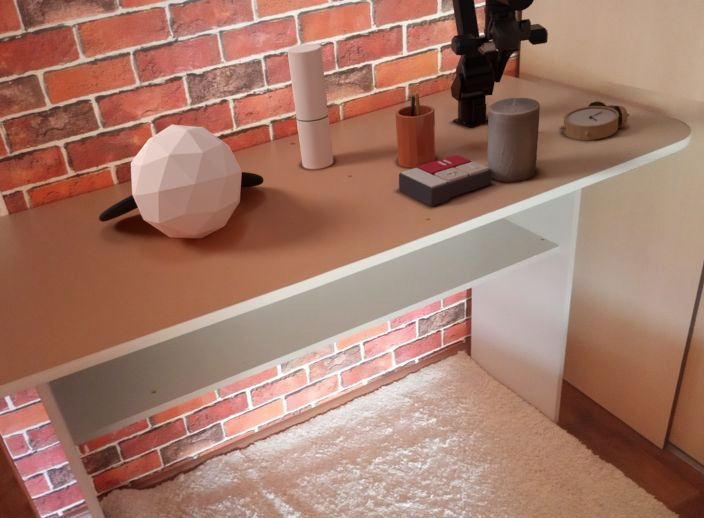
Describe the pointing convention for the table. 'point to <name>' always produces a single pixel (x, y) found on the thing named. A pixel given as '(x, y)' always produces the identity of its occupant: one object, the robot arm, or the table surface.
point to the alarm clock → (594, 121)
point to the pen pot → (415, 136)
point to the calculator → (444, 179)
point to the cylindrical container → (310, 105)
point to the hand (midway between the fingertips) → (497, 82)
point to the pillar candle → (513, 138)
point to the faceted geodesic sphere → (184, 183)
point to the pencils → (414, 99)
